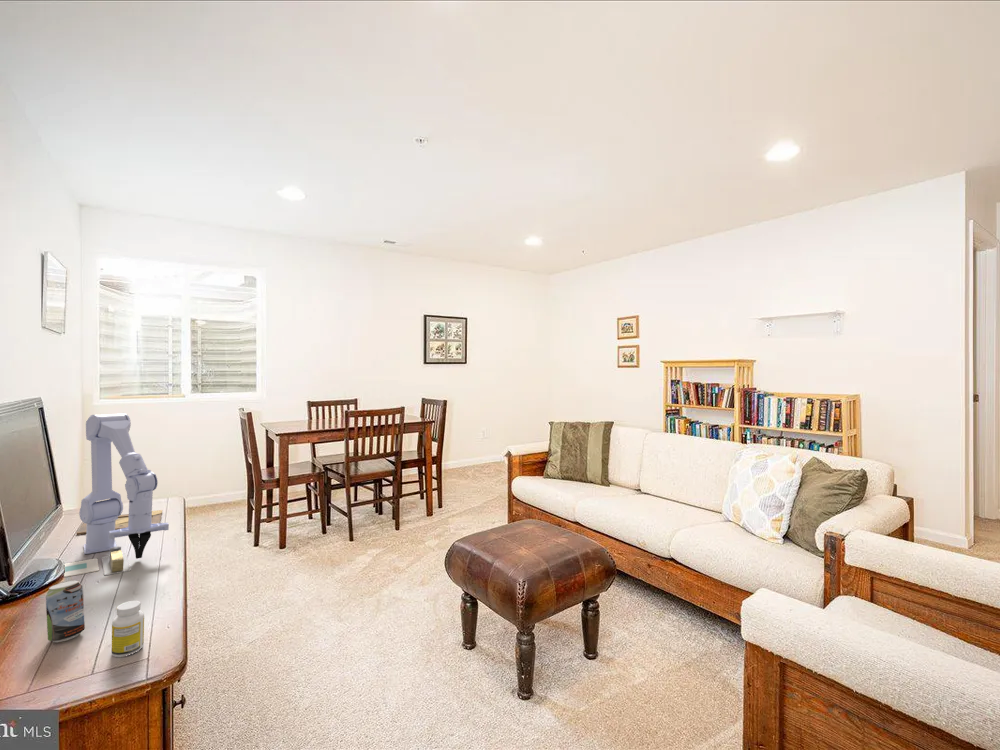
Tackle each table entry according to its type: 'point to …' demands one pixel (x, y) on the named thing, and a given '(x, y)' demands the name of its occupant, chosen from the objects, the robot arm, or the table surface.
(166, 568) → the table surface
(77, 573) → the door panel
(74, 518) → the table surface
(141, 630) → the supplement bottle
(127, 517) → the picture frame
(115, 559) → the bar
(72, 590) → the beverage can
